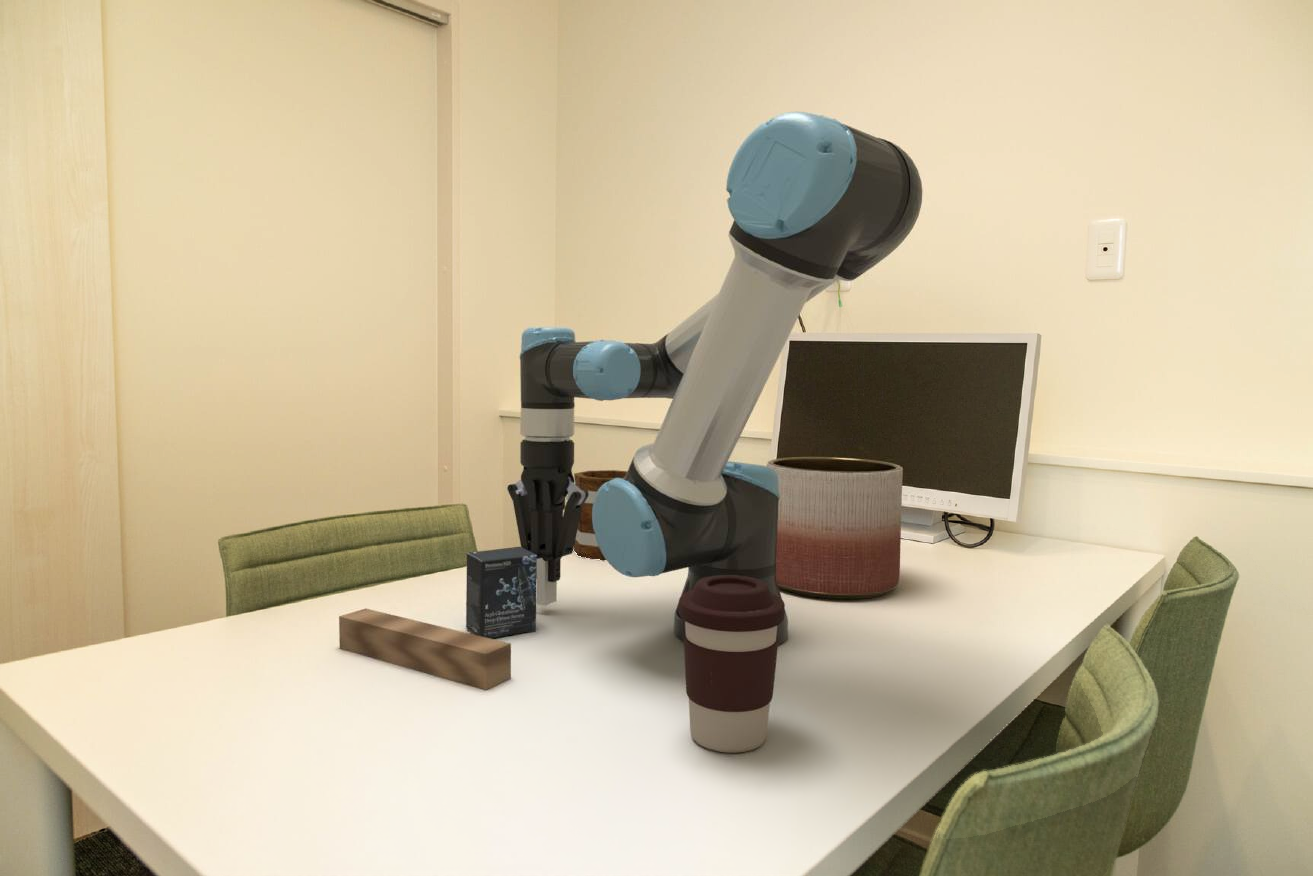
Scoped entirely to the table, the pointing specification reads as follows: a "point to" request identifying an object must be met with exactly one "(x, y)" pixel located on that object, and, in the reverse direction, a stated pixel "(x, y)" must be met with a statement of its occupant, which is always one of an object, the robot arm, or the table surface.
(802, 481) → the planter
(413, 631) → the brown wooden bar
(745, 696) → the coffee cup
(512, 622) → the box
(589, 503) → the mug
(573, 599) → the table surface
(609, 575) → the table surface
